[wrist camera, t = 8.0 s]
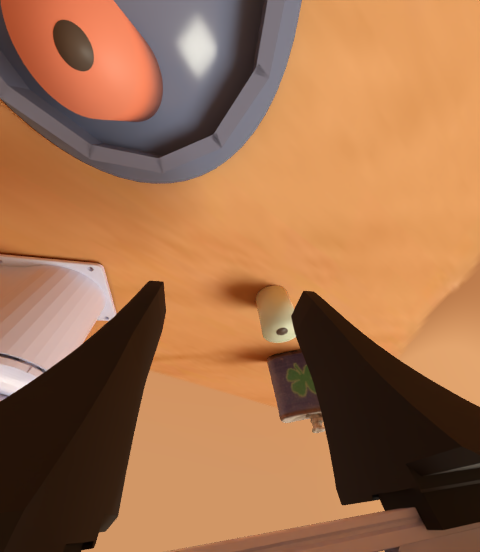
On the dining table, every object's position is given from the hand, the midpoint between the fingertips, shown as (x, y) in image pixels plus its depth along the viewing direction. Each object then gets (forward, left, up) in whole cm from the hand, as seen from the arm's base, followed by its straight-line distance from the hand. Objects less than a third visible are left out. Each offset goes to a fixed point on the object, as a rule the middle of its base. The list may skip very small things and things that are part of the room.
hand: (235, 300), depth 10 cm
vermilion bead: (-7, +8, -9) cm, 14 cm away
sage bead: (+7, -8, -9) cm, 14 cm away
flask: (+15, -21, -10) cm, 28 cm away
